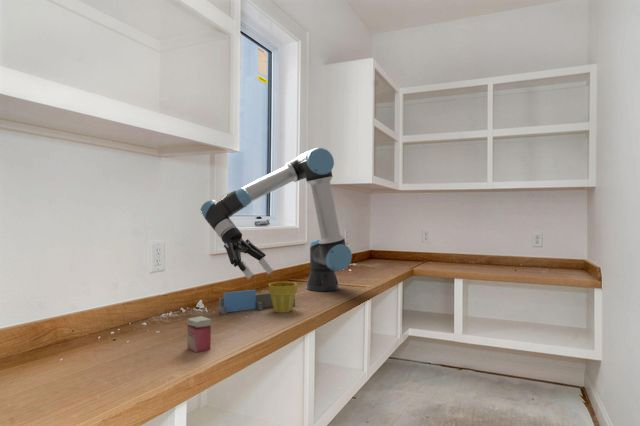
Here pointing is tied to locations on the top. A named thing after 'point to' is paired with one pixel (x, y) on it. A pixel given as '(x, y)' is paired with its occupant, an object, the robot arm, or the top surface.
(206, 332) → the small box
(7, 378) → the top surface
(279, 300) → the plant pot
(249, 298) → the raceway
